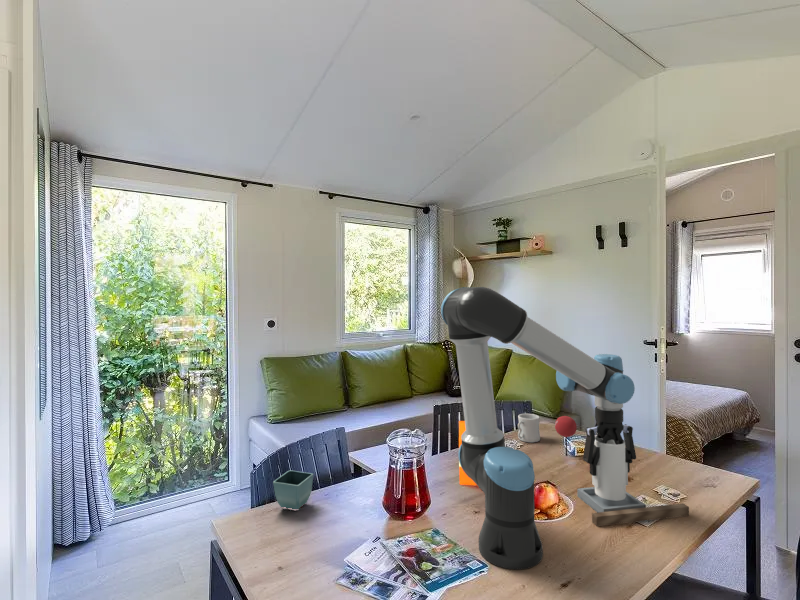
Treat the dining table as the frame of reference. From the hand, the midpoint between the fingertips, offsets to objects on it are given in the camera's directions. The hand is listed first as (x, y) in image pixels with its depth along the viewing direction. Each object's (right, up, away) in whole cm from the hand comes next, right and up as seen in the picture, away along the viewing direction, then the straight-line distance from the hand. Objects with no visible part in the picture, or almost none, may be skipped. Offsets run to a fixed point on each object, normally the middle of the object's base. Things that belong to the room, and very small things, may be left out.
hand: (609, 484), depth 128 cm
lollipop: (+2, -6, +39) cm, 39 cm away
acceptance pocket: (0, -6, 0) cm, 6 cm away
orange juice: (-37, -7, +18) cm, 42 cm away
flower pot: (-93, -8, +2) cm, 94 cm away
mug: (-8, -6, +57) cm, 57 cm away
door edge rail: (+5, -6, -8) cm, 11 cm away
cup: (0, -3, 0) cm, 3 cm away
